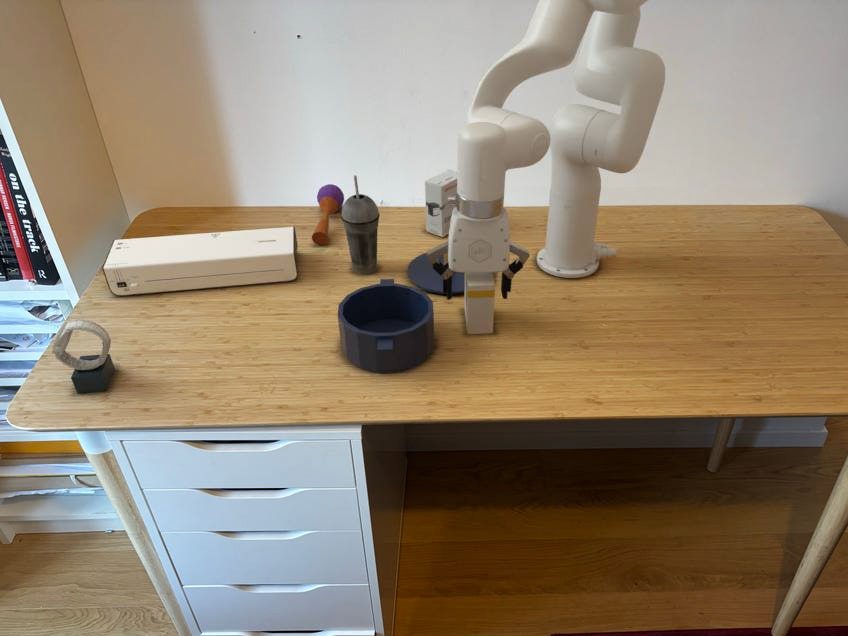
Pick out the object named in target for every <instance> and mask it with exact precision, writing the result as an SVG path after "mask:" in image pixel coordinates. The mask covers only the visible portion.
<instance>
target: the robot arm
mask: <svg viewBox="0 0 848 636" xmlns="http://www.w3.org/2000/svg"><path fill="white" fill-rule="evenodd" d="M648 1H649V0H538V2H537V5H536V7H535V9H534V12H533V15H532V16H531V17H532V18H531V20H530V22H529V25H528V27H527V30H526V32H525V34H524V36H523V38H522V40H520V42H519V43H518V44H516V45H515V46H514V47H512V48H510V49H509V50H508V51H507V52H506V53H505V54H503V55H502V56H501V57H500V58H499V59H498V60H497V61H496V62H495V63H494V64H493V65H492V66H490V67H489V69H488V70H487V71H486V72H485V74H484V75H483V76H482V78H481V79H480V81H479V83H478V85H477V87H476V90H475V92H474V94H473V97H472V100H471V102H470V105H469V107H468V111H467V114H466V118H465V122H464V125H463V126H462V127H461V128H460V130H459V133H458V134H457V135H458V136H457V171H456V172H457V194H455V196H448V205H453V206H455V208H454V209H453V212H452V216H451V222H450V228H449V234H448V239H447V240H448V241H446V242H444V243H441V244H439V245H437V246H435V247H433V248H430V249H428V250H427V251H426V252H425V253H426V255H427V259H428V260H429V262H430V264H431V265H432V267H433V269H434V270H435V271H436V272H437V273H438V274H440V275H441V276H442V278H443V293H447V294H446V299H447V301H450V300H452V297H453V294H452V277H451V275H452V274H453V273H454V272H460V273H480V272H492V273H501V281H500V284H501V285H500V292H501V296H502V299H503V300H508V293H512V280H513V278H514V277H515V275H516V274H518V273H519V272H520V271H521V270H522V269H523V268H524V265H525V264H526V262H527V261H528V259H529V258H530V257H531V255H530V251H529V250H528V249H526V248H524V247H522V246H520V245H519V244H516V243H515V242H512V241H511V232H510V231H511V230H510V229H511V227H510V219H509V213H508V210H507V209H505V207H504V205H505V204H504V203H505V191H506V190H505V189H506V188H505V187H506V173H507V171H509V170H515V169H521V168H527V167H531V166H534V165H535V164H538V163H539V162H540V161H542V160H543V158H544V157H545V156H546V155H547V153H548V151H549V148H550V157H551V176H550V178H551V179H550V189H549V201H548V211H547V212H548V213H547V224H546V235H545V236H546V237H545V245H544V246H545V247H543V248H541V249H540V250H539V252H538V253H537V255H536V265H538V267H539V269H541V270H542V271H543V272H545V273H547V274H549V275H551V276H554V277H558V278H564V279H580V278H585V277H587V276H590V275H592V274H594V273H595V272H596V271H597V270H598V268H599V264H600V259H601V258H616V257H617V248H616V247H608V243H606V242H603V243H601V242H600V243H596V242H595V235H596V227H597V220H598V213H599V205H600V198H601V192H602V177H601V172H600V170H599V169H602V170H604V171H608V172H612V173H617V174H626V173H629V172H631V171H632V170H634V169H635V168H636V166H637V165H638V164H639V161H640V160H641V158H642V156H643V153H644V150H645V147H646V144H647V142H648V139H649V135H650V132H651V129H652V126H653V124H654V120H655V117H656V115H657V111H658V108H659V105H660V101H661V98H662V95H663V92H664V89H665V83H666V66H665V62H664V60H663V59H662V57H661V56H660V55H659V54H657V53H655V52H653V51H652V50H647V49H643V48H638V47H634V43H635V39H636V35H637V33H638V29H639V25H640V21H641V6H643V5H645V4H646V3H647V2H648ZM582 40H583V41H582ZM581 43H582V45H581ZM580 45H581V48H580ZM579 48H580V52H579V55H578V59H577V61H576V66H575V71H574V77H573V85H574V87H575V90H576V91H577V93H579V94H581V95H582V96H584V97H587V98H590V99H593V100H596V101H598V102H599V101H600V102H602V103H607V104H611V105H616V106H619V107H621V108H620V114H618V113H616V112H611V111H607V110H605V109H601V108H597V107H594V106H589V105H586V104H580V103H571V104H567V105H564V106H562V107H561V108H559V109H557V110H556V112H555V113H554V115H553V117H552V119H551V121H550V125H549V128H548V127H547V126H546V125H545V124H544V122H542V121H541V120H538V119H537V118H534V117H531V116H528V115H526V114H521V113H518V112H515V111H511V110H509V109H504V108H503V107H504V105H505V102H506V100H507V99H508V97H509V96H510V94H511V93H512V92H513V91H514V90H515V89H516V88H517V87H518V86H519V85H521V84H522V83H524V82H525V81H527V80H529V79H532V78H534V77H537V76H540V75H543V74H546V73H549V72H553V71H556V70H560V69H563V68H566V67H568V66H569V65H571V64H572V63H573V61H574V60H575V57H576V55H577V53H578V50H579ZM447 252H448V261H447V262H446V263H445V264H444V265H443V264H442V263H441V262H440V261H439V260H438V259H437V257H439V256H441V255H443V254H445V253H447ZM510 254H513V255H515V256H517V258H516V259H515V260H514V261H513V262H511V263H510Z"/></svg>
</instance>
